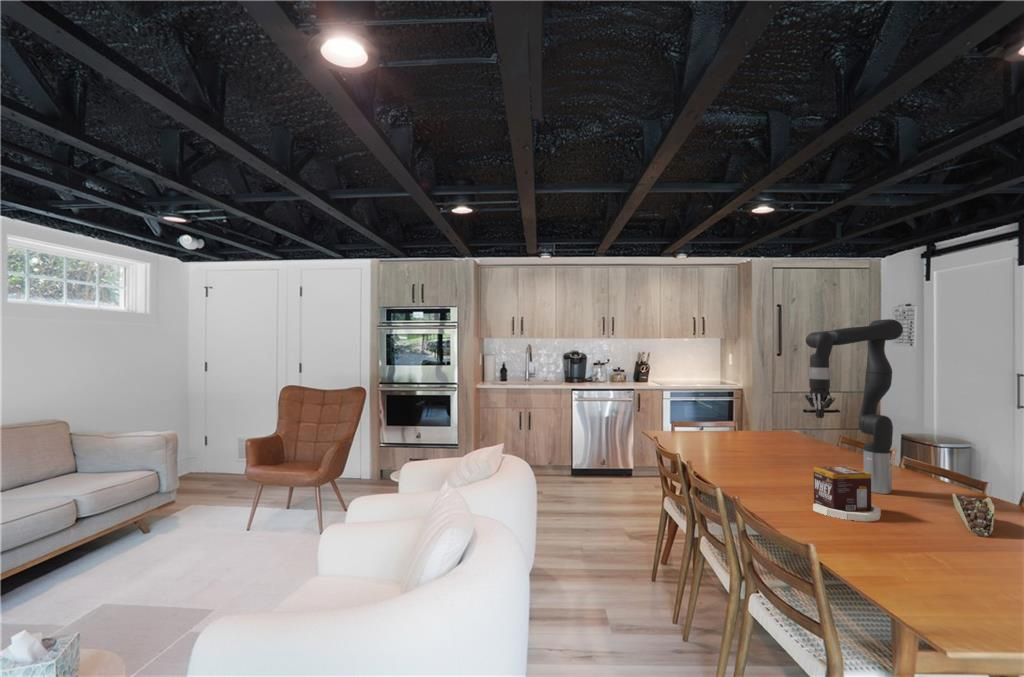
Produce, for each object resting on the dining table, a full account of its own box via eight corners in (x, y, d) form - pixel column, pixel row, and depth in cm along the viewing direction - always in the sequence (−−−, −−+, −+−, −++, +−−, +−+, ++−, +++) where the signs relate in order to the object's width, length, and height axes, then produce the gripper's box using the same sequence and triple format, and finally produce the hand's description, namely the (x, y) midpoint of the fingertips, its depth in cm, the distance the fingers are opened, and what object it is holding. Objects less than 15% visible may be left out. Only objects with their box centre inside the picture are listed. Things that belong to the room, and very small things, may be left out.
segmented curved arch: (856, 505, 185) (856, 498, 185) (895, 517, 172) (895, 510, 172) (813, 510, 179) (812, 504, 179) (849, 524, 165) (849, 517, 165)
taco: (983, 517, 173) (983, 489, 173) (1002, 541, 152) (1001, 509, 152) (948, 511, 179) (947, 485, 179) (961, 534, 157) (960, 504, 157)
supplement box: (813, 506, 183) (812, 466, 184) (850, 505, 185) (849, 466, 185) (833, 516, 173) (832, 473, 173) (872, 515, 174) (871, 473, 174)
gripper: (840, 378, 198) (841, 419, 197) (812, 376, 210) (812, 415, 210) (827, 379, 196) (827, 420, 195) (799, 377, 208) (799, 416, 208)
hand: (819, 417), depth 203 cm, fingers closed
